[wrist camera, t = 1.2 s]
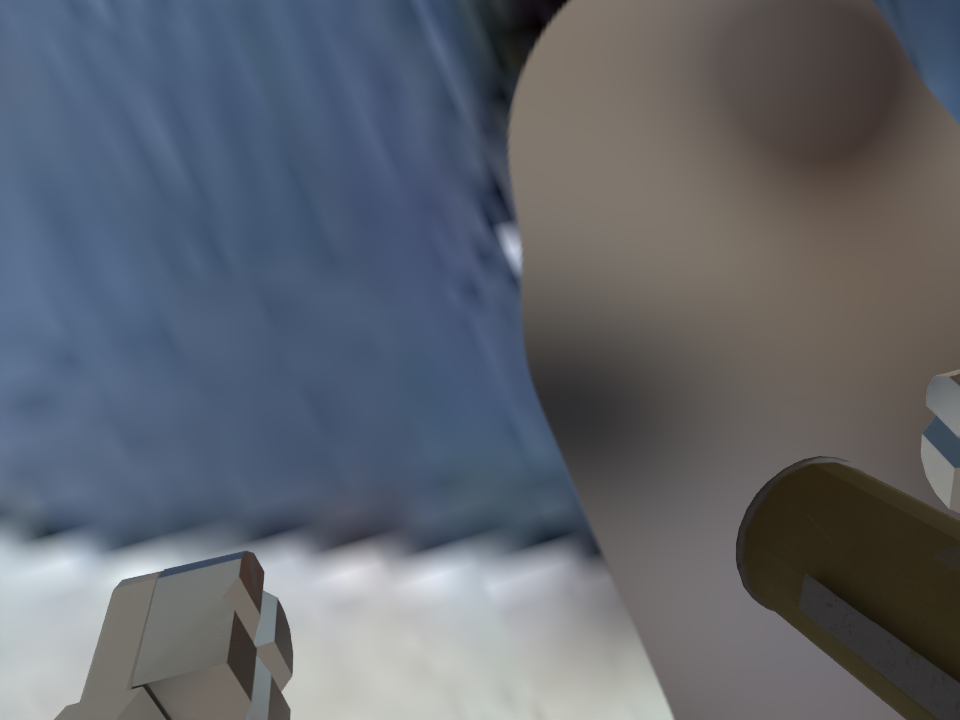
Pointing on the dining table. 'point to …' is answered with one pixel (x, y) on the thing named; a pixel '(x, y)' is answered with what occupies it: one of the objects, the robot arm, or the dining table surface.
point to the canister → (861, 579)
